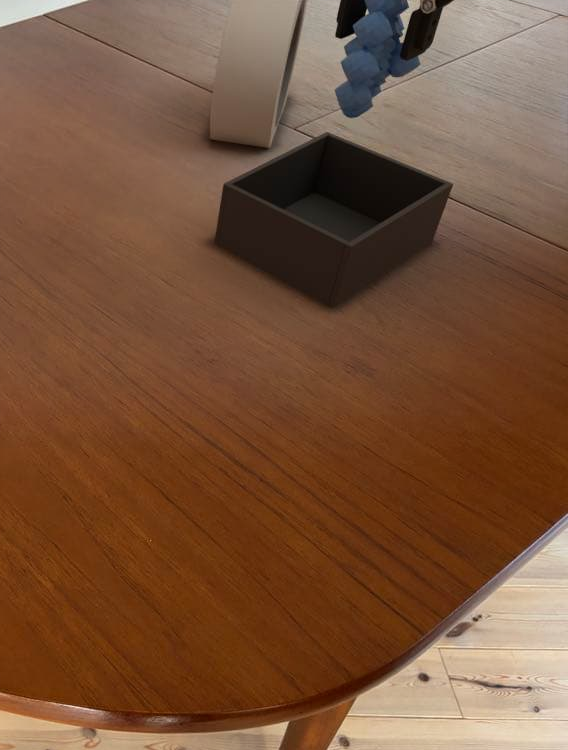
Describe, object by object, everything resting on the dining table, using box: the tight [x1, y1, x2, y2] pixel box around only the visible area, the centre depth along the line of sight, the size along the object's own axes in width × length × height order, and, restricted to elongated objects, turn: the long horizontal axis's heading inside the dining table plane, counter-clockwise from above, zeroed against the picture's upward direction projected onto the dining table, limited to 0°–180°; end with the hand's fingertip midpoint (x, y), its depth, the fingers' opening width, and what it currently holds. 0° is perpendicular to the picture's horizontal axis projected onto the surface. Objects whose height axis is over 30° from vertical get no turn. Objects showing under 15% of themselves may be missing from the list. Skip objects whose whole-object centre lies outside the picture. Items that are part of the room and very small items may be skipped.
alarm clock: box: [209, 0, 308, 149], centre depth 106 cm, size 21×8×20 cm, turn 160°
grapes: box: [334, 0, 421, 119], centre depth 76 cm, size 12×7×12 cm, turn 151°
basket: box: [214, 131, 454, 309], centre depth 89 cm, size 15×17×8 cm
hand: (379, 42), depth 75 cm, fingers closed on grapes, 5 cm apart
